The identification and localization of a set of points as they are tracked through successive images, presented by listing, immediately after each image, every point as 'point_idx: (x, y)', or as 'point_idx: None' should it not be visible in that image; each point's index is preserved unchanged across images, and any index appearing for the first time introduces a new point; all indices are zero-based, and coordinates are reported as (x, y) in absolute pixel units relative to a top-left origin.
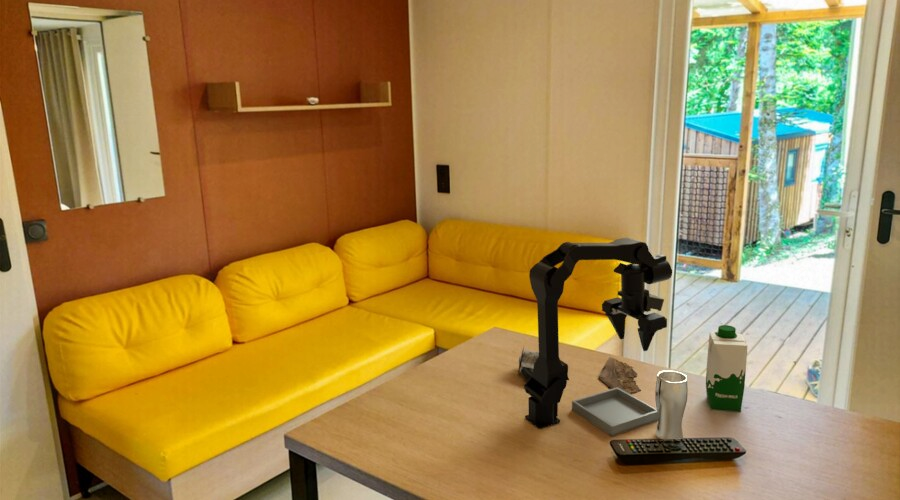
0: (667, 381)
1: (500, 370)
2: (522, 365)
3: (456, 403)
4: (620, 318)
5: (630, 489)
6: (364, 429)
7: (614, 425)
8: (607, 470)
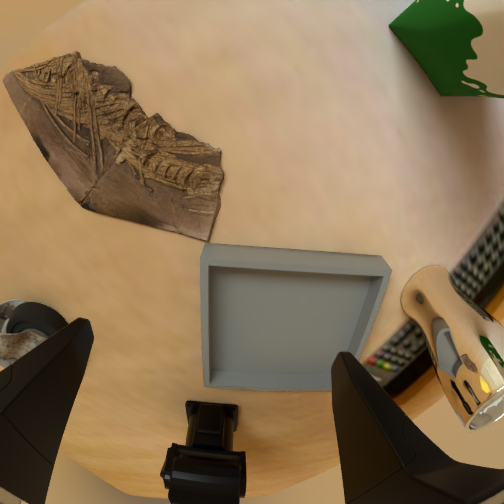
0: (492, 423)
1: None
2: None
3: (107, 437)
4: (16, 455)
5: (423, 408)
6: (138, 483)
7: None
8: None
